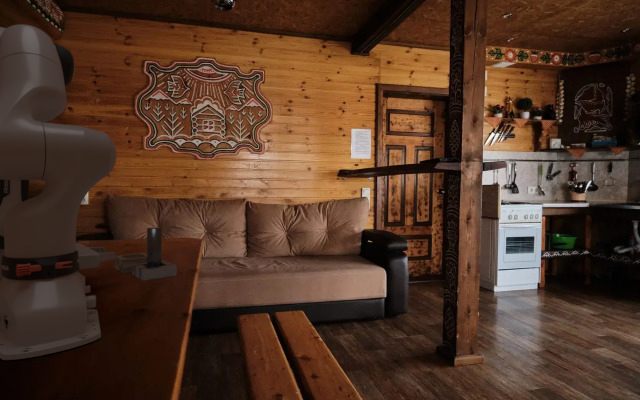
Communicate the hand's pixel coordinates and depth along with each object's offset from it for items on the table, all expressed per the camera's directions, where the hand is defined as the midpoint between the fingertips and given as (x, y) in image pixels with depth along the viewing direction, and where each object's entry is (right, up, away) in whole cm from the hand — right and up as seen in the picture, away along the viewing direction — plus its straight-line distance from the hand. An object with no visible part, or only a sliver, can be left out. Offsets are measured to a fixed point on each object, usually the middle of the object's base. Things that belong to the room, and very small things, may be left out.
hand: (109, 252), depth 106 cm
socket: (+9, -8, +9) cm, 15 cm away
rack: (-1, -7, +16) cm, 18 cm away
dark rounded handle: (+9, -8, +9) cm, 15 cm away
